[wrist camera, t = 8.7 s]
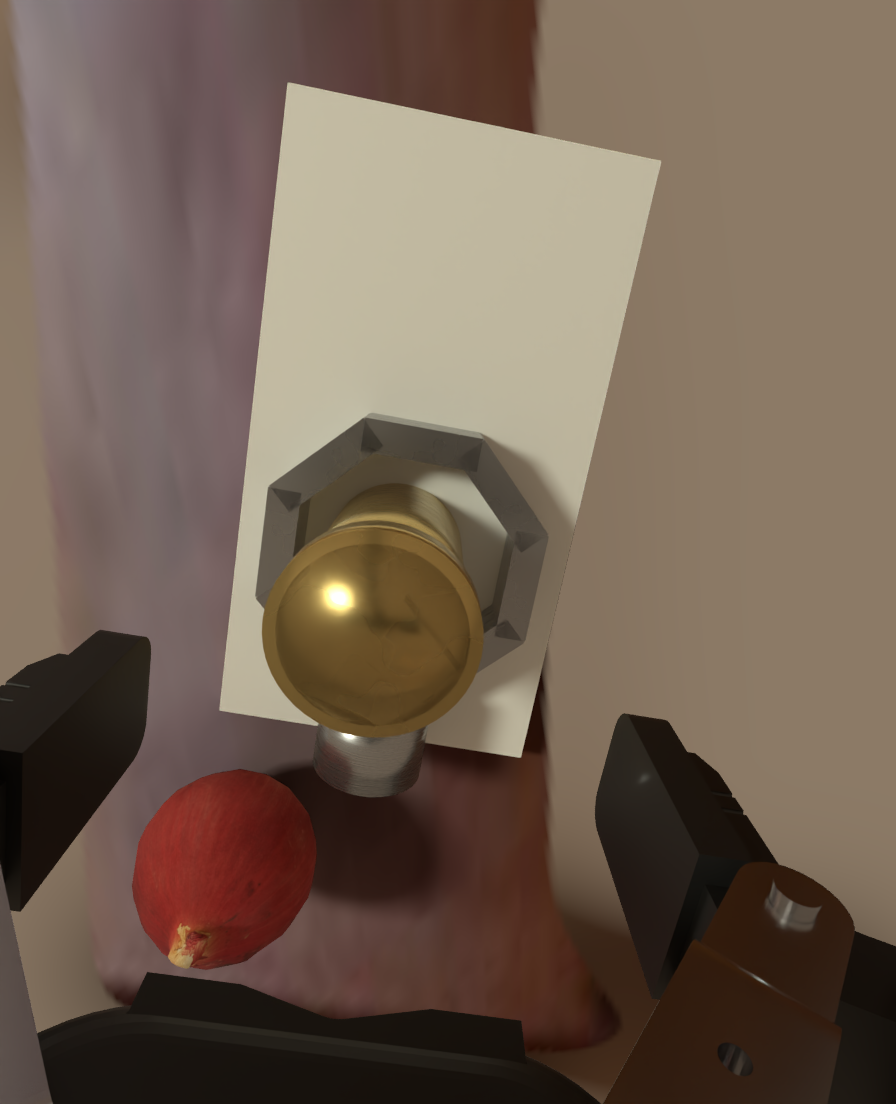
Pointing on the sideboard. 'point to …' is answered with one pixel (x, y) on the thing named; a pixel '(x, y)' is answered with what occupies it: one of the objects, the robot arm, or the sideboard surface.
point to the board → (437, 347)
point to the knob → (377, 617)
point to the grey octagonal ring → (505, 622)
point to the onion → (223, 868)
